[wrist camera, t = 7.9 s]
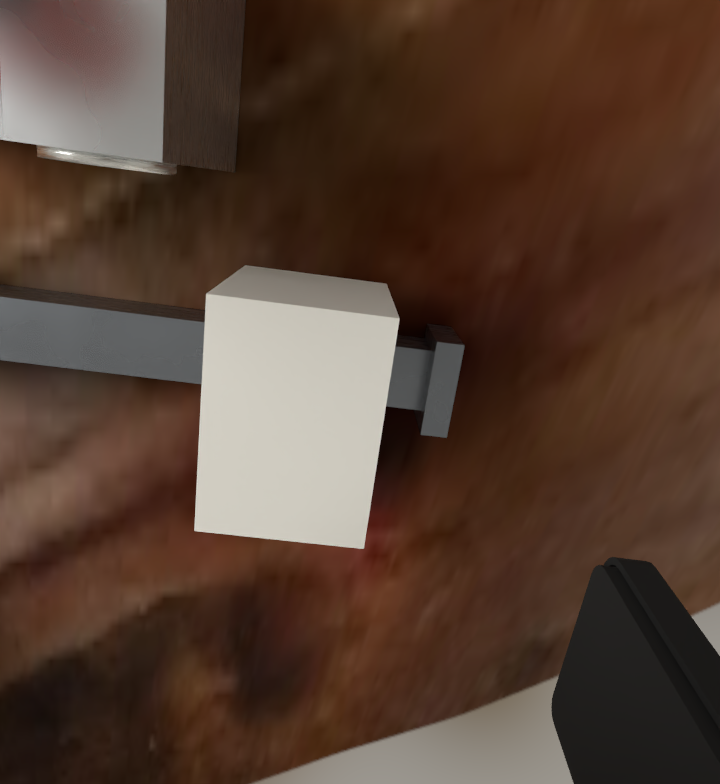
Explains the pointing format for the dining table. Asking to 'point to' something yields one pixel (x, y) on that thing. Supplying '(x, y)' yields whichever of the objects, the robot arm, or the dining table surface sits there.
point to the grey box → (123, 81)
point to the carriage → (293, 405)
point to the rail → (194, 346)
